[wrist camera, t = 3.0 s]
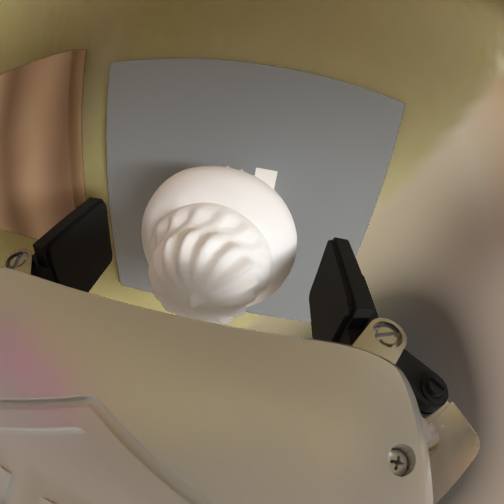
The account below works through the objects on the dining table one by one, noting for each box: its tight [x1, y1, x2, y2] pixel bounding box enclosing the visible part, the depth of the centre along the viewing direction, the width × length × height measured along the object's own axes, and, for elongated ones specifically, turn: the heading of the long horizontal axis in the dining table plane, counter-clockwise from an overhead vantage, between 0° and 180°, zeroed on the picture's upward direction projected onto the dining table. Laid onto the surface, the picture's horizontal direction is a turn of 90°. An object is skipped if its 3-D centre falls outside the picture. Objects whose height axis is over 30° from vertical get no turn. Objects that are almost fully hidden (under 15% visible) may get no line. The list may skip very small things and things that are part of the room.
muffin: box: [141, 166, 297, 324], centre depth 11 cm, size 6×6×7 cm
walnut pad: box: [0, 50, 86, 240], centre depth 12 cm, size 12×12×1 cm
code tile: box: [106, 58, 405, 322], centre depth 14 cm, size 14×14×1 cm
